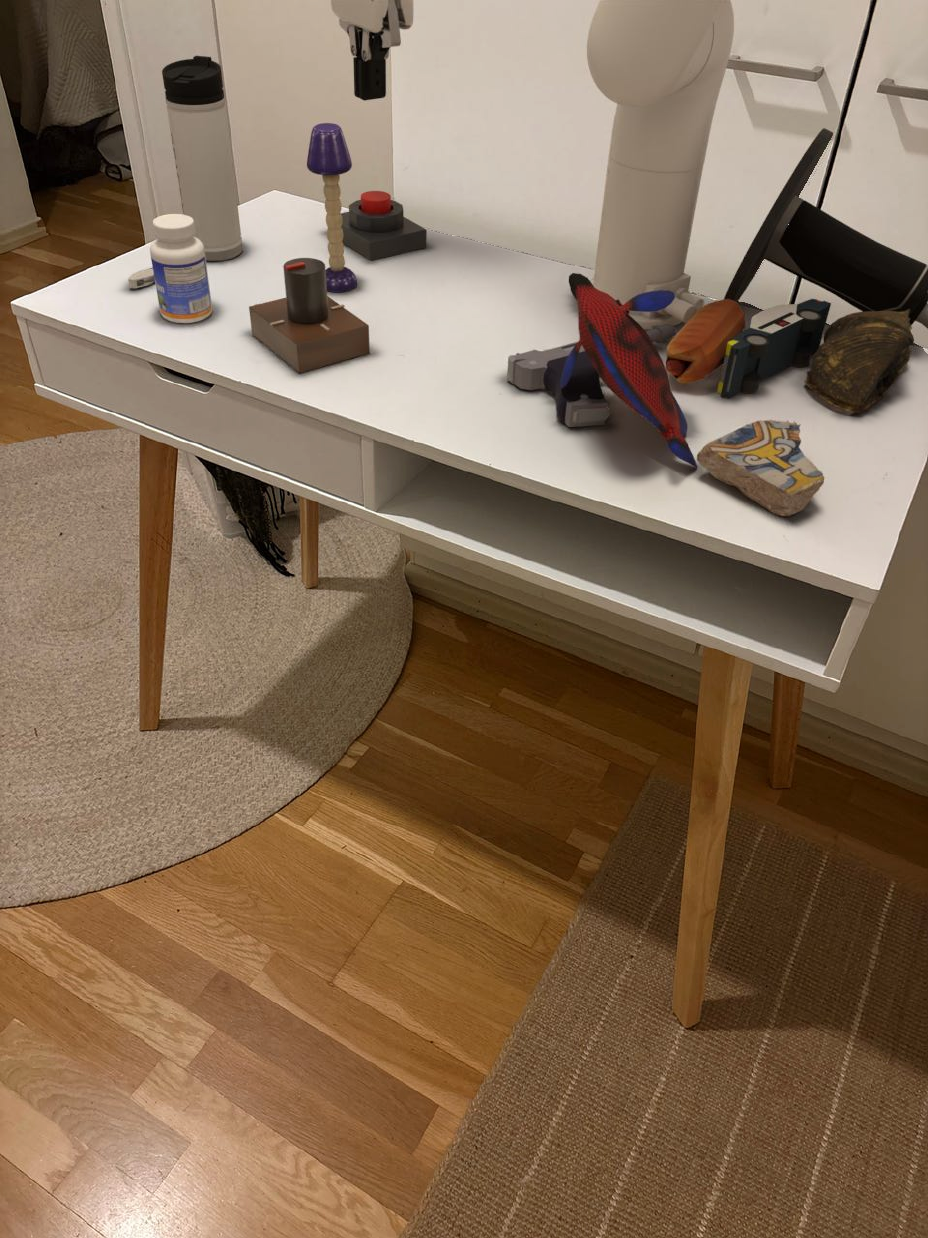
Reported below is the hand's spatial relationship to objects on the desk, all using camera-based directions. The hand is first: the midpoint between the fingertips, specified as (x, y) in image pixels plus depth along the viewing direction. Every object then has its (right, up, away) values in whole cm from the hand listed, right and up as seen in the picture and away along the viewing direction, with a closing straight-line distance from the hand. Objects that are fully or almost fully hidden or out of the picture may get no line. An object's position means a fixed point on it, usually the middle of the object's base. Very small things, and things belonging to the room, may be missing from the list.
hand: (370, 96), depth 112 cm
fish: (+21, -36, -31) cm, 52 cm away
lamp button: (0, -9, +8) cm, 12 cm away
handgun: (+29, -38, -20) cm, 52 cm away
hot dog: (+37, -31, -15) cm, 50 cm away
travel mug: (-19, -15, +7) cm, 25 cm away
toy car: (+42, -33, -15) cm, 56 cm away
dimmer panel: (-5, -31, -11) cm, 33 cm away
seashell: (+50, -35, -12) cm, 62 cm away
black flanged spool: (+43, -17, -7) cm, 46 cm away
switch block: (0, -12, +10) cm, 16 cm away
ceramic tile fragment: (+40, -46, -28) cm, 67 cm away
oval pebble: (-25, -21, 0) cm, 32 cm away
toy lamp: (-4, -21, 0) cm, 22 cm away
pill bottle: (-19, -26, -6) cm, 33 cm away
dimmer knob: (-5, -28, -13) cm, 32 cm away
